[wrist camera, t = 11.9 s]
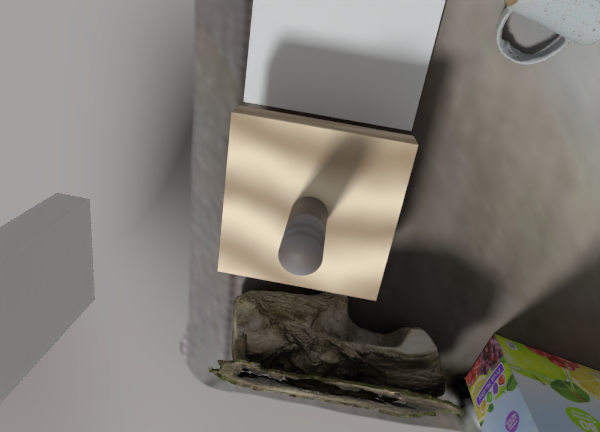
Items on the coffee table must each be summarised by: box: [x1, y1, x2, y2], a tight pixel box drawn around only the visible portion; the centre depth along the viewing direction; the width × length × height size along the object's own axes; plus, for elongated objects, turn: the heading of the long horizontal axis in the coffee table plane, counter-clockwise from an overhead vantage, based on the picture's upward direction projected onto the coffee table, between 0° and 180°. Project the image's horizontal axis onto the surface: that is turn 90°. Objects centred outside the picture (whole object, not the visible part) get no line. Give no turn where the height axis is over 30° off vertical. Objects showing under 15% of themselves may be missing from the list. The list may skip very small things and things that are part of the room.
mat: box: [244, 0, 446, 131], centre depth 41 cm, size 17×17×1 cm
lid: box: [218, 105, 418, 301], centre depth 39 cm, size 16×16×11 cm
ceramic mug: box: [496, 0, 600, 65], centre depth 36 cm, size 11×8×8 cm
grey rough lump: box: [208, 290, 464, 418], centre depth 50 cm, size 28×13×15 cm
